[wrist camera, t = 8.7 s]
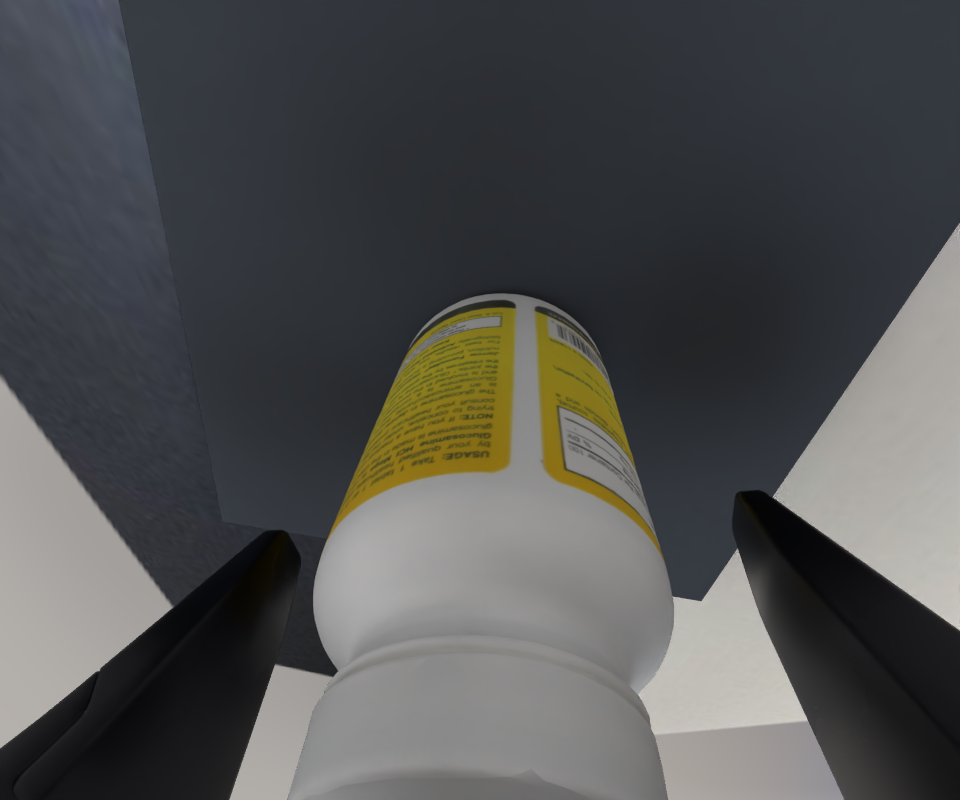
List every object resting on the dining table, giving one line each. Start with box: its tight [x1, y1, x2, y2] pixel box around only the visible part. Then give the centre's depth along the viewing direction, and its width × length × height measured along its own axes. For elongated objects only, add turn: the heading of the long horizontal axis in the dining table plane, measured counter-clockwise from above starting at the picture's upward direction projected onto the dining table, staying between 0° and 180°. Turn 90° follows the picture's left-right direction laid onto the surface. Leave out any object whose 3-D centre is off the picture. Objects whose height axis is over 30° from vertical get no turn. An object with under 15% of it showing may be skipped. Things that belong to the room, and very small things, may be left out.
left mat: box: [119, 0, 960, 601], centre depth 15 cm, size 20×20×1 cm
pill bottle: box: [287, 293, 674, 800], centre depth 10 cm, size 6×6×11 cm
